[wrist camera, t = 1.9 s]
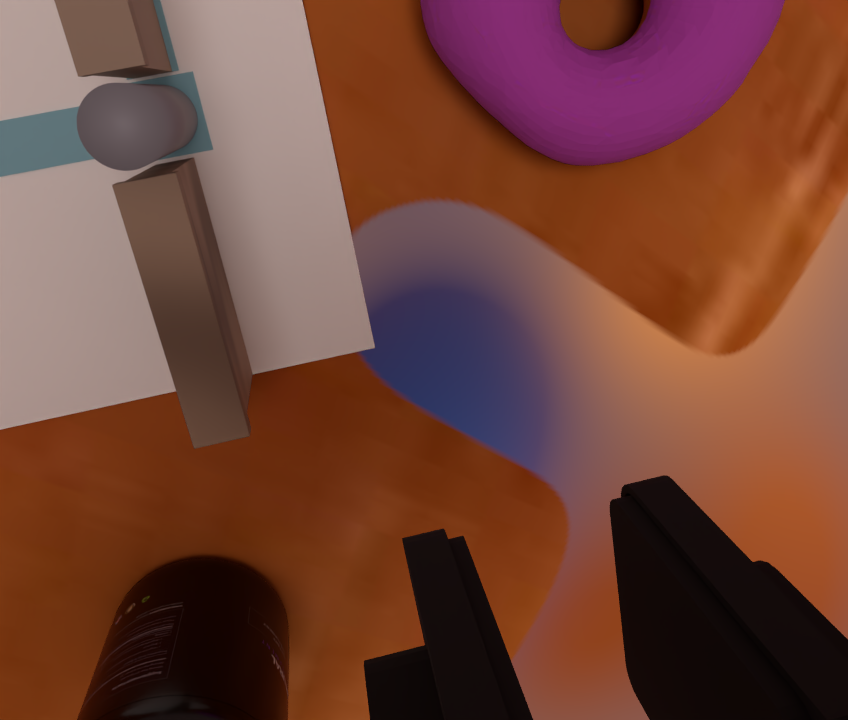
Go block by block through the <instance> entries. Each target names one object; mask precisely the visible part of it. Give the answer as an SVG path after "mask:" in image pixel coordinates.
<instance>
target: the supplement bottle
mask: <svg viewBox="0 0 848 720" xmlns="http://www.w3.org/2000/svg"><path fill="white" fill-rule="evenodd" d="M288 681H289V628H288V620H287V615H286V612H285V609H284V607H283V604H282V602H281V600H280V599H279V597H278V595H277V594H276V592H275V591H274V590H273V588H272V587H271V586H270V585H269V584H268V583H267V582H266V581H265V580H264V579H262V578H261V577H260V576H258V575H257V574H256V573H254V572H252V571H250V570H249V569H247V568H245V567H242V566H240V565H237V564H235V563H231V562H228V561H223V560H217V559H191V560H185V561H180V562H176V563H173V564H170V565H167V566H165V567H162V568H160V569H158V570H156V571H154V572H152V573H151V574H149V575H148V576H146V577H145V578H143V579H142V580H141V581H140V582H138V583H137V584H136V585H135V586H134V587H133V588H132V589H131V590H130V592H129V593H128V594H127V595H126V596H125V598H124V600H123V601H122V603H121V605H120V606H119V608H118V610H117V612H116V615H115V617H114V620H113V622H112V625H111V627H110V630H109V633H108V636H107V638H106V641H105V644H104V647H103V649H102V652H101V655H100V658H99V661H98V663H97V666H96V669H95V672H94V674H93V677H92V680H91V683H90V686H89V688H88V691H87V694H86V697H85V699H84V702H83V705H82V708H81V711H80V713H79V716H78V719H77V720H288Z"/></svg>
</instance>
